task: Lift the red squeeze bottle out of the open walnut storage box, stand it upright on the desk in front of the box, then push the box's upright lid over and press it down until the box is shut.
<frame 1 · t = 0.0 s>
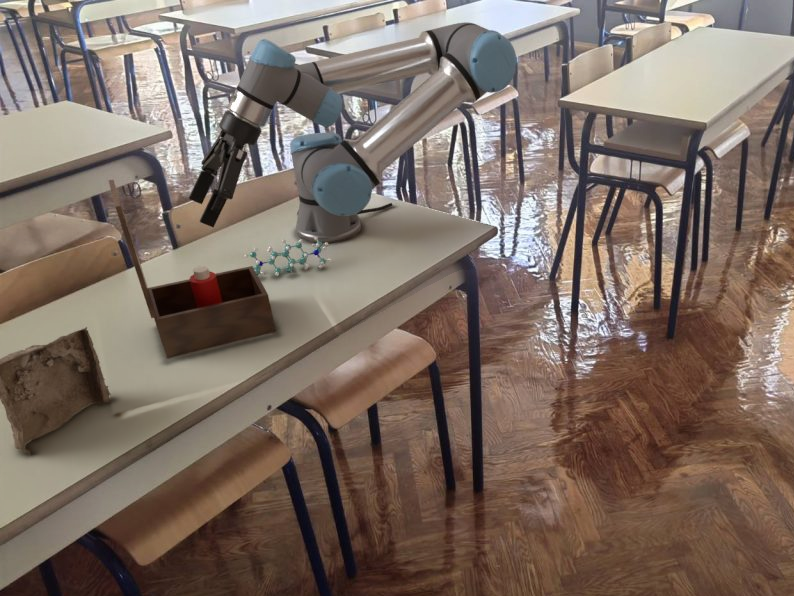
hand: (200, 212, 155), 15 cm above the table, tool tilted 35°, fingers open, 13 cm apart
bottle: (216, 327, 146), point 1 cm above the table, touching storage box
lid: (132, 249, 131), point 20 cm above the table, hinge at 90.0°
mineral sample: (67, 424, 123), on the table
molecule model: (291, 273, 167), on the table
storage box: (217, 331, 147), on the table
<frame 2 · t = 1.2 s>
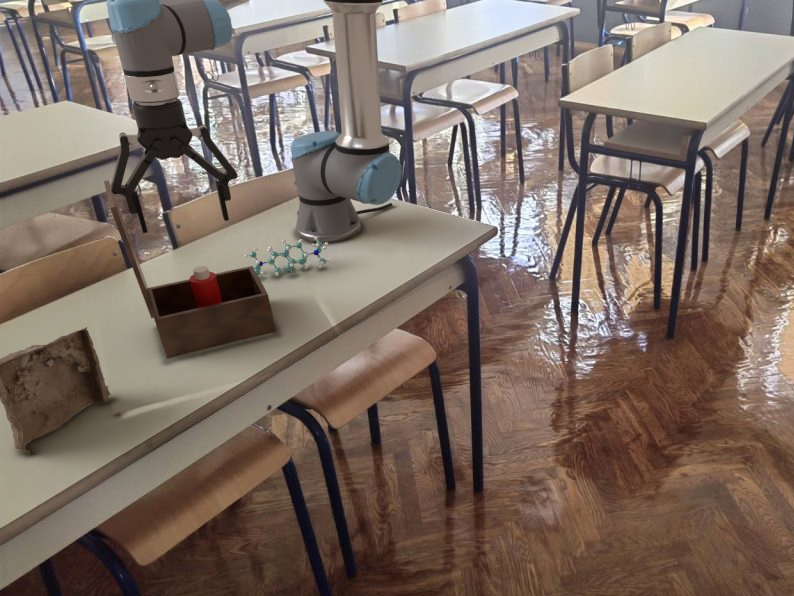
hand: (186, 224, 135), 22 cm above the table, tool pointing down, fingers open, 13 cm apart
lid: (130, 249, 131), point 20 cm above the table, hinge at 92.1°
everything else where it was.
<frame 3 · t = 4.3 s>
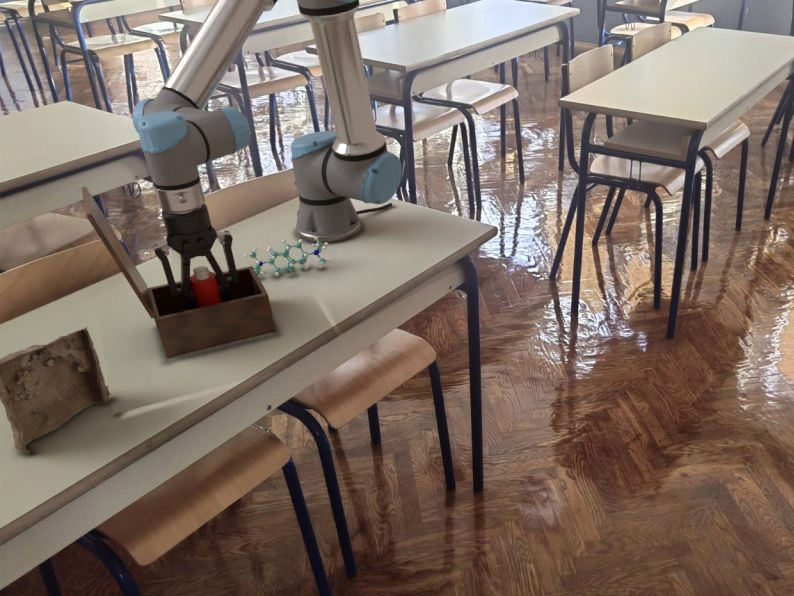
hand: (214, 321, 145), 2 cm above the table, tool pointing down, fingers closed on bottle, 5 cm apart
bottle: (216, 327, 146), point 1 cm above the table, touching gripper, storage box
lid: (119, 253, 131), point 19 cm above the table, hinge at 102.4°
everything else where it was.
when the fingers open (1 cm above the table, at t = 12.1 s): bottle stays where it is, on the table.
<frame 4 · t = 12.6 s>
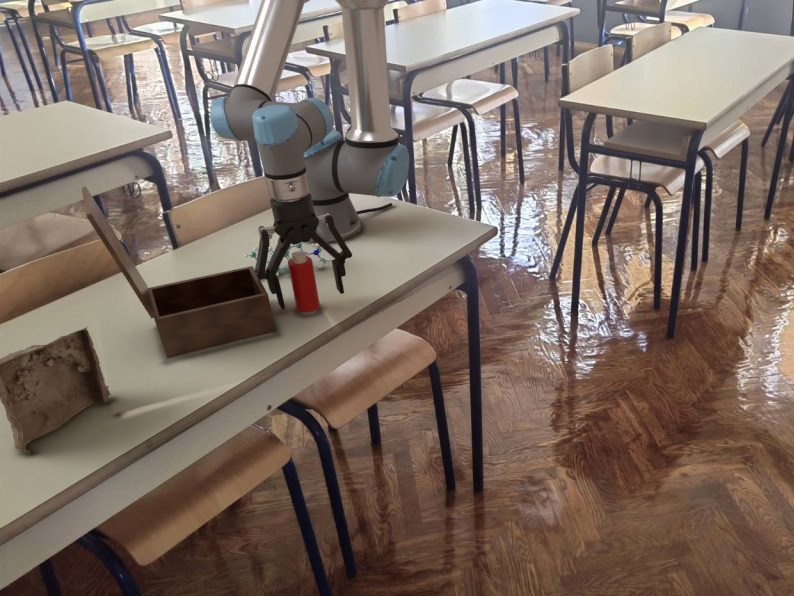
hand: (311, 298, 152), 2 cm above the table, tool pointing down, fingers open, 11 cm apart
bottle: (308, 310, 153), on the table
everything else where it was.
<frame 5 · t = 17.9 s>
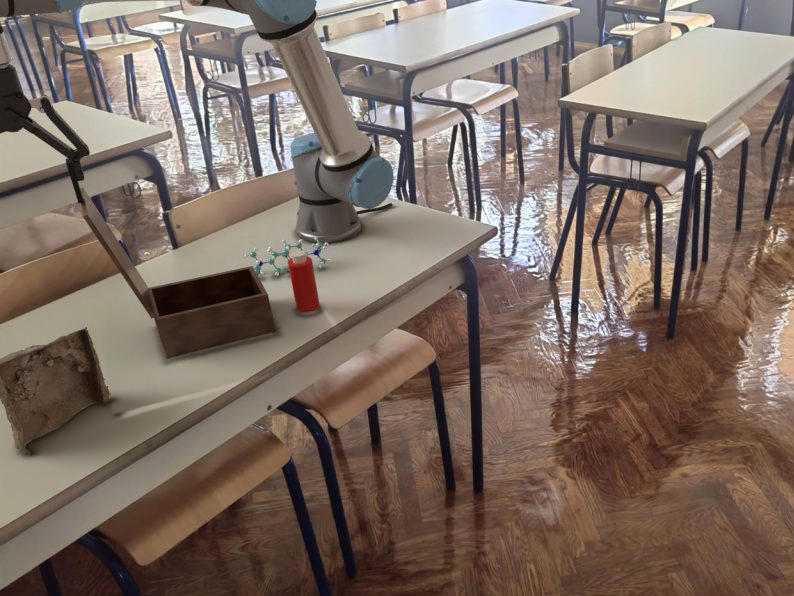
hand: (33, 207, 121), 30 cm above the table, tool pointing down, fingers open, 13 cm apart
lid: (117, 254, 131), point 19 cm above the table, hinge at 103.8°, touching gripper
everything else where it was.
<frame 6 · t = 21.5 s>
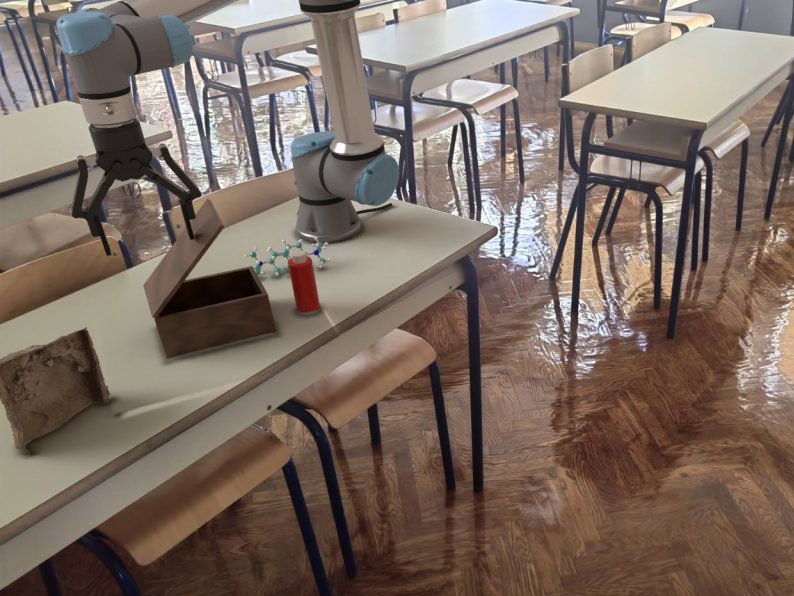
hand: (150, 244, 132), 20 cm above the table, tool pointing down, fingers open, 13 cm apart
lid: (182, 257, 136), point 16 cm above the table, hinge at 43.6°, touching gripper
everything else where it was.
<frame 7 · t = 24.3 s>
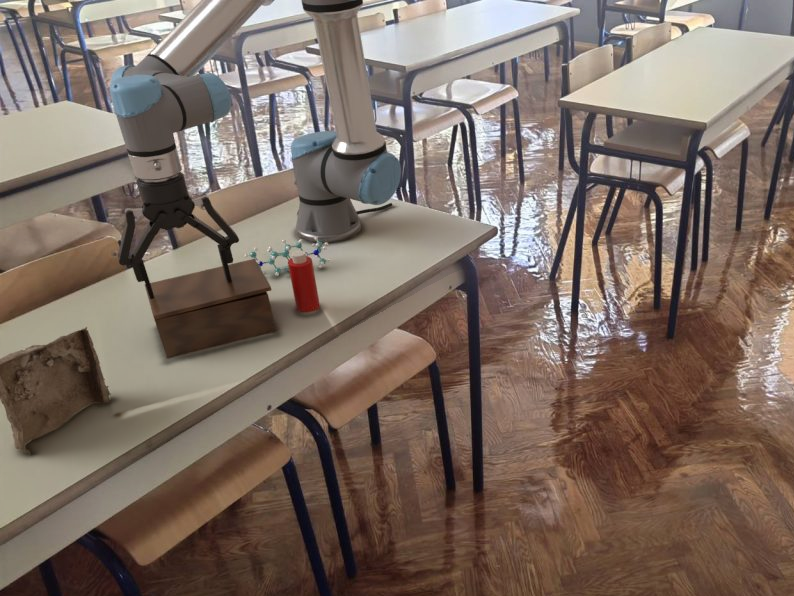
hand: (190, 287, 140), 10 cm above the table, tool pointing down, fingers open, 13 cm apart
lid: (207, 287, 141), point 10 cm above the table, hinge at 1.6°, touching gripper
everything else where it was.
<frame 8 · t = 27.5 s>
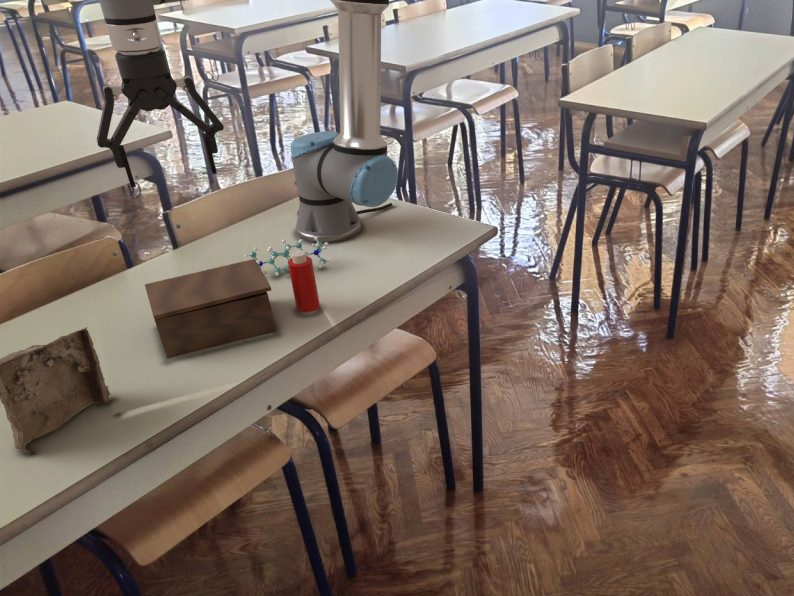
hand: (173, 178, 134), 29 cm above the table, tool pointing down, fingers open, 13 cm apart
lid: (207, 287, 141), point 10 cm above the table, hinge at 1.5°
everything else where it was.
at the end: bottle inside the target area (0.1 cm from its centre), on the table; bottle tilted 0°; lid at +2° (first picture: +90°) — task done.
